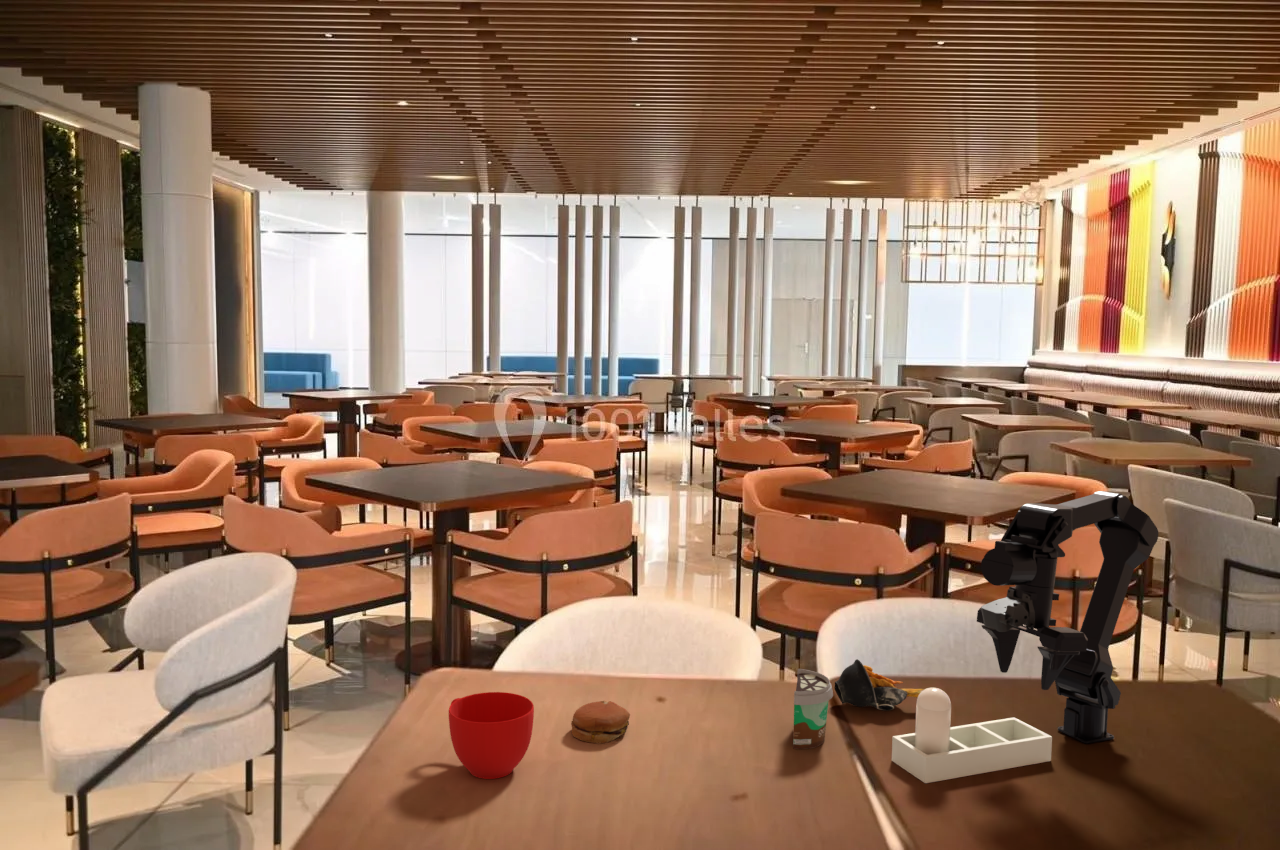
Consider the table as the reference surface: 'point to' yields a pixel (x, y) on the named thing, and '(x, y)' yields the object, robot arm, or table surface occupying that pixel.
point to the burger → (599, 722)
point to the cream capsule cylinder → (933, 721)
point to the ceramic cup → (491, 732)
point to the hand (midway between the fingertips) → (1023, 680)
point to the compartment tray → (975, 750)
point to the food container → (810, 709)
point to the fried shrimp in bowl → (870, 688)
